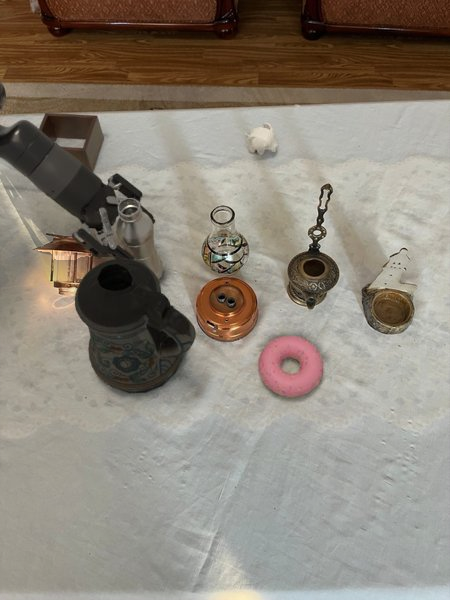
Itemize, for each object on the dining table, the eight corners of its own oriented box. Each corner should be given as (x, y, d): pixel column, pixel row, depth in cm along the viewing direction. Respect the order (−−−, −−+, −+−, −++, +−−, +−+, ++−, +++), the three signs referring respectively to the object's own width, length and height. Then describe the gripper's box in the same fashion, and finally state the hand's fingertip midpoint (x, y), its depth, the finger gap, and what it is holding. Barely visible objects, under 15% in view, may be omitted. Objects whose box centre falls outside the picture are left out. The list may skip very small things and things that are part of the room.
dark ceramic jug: (98, 312, 97) (57, 227, 75) (203, 309, 97) (192, 224, 75) (87, 397, 89) (38, 330, 67) (202, 395, 88) (189, 327, 67)
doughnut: (254, 344, 93) (254, 333, 89) (315, 338, 93) (318, 327, 89) (261, 403, 87) (262, 394, 84) (327, 397, 87) (331, 388, 84)
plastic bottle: (161, 257, 103) (145, 187, 86) (167, 286, 99) (151, 219, 82) (129, 264, 102) (106, 194, 85) (133, 293, 99) (110, 226, 82)
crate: (43, 175, 115) (30, 147, 108) (56, 141, 120) (45, 112, 113) (94, 178, 114) (85, 150, 107) (105, 143, 119) (97, 115, 112)
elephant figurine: (271, 166, 114) (272, 145, 109) (237, 155, 116) (237, 134, 111) (282, 145, 117) (284, 124, 112) (250, 135, 119) (250, 114, 114)
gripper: (51, 205, 77) (135, 270, 85) (96, 140, 84) (170, 206, 91) (33, 219, 83) (113, 278, 90) (76, 157, 89) (147, 218, 97)
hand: (142, 242), depth 91 cm, fingers open, 8 cm apart
